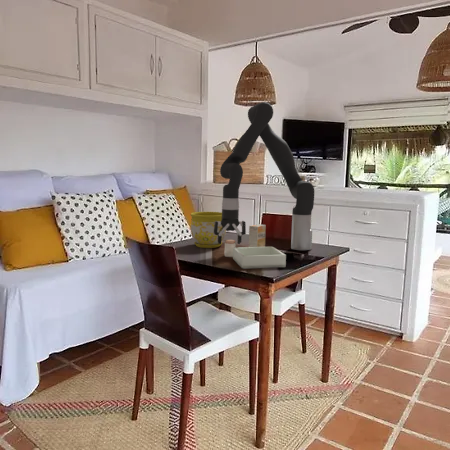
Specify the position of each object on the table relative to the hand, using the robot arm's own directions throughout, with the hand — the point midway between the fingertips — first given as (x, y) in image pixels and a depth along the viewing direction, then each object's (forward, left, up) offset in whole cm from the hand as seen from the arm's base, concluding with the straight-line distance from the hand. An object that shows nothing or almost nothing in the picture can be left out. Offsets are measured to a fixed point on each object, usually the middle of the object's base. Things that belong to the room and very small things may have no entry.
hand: (229, 243), depth 193 cm
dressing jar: (0, 0, -6) cm, 6 cm away
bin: (-9, +15, -5) cm, 19 cm away
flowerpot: (+6, -25, -6) cm, 26 cm away
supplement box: (-14, -5, -6) cm, 16 cm away
